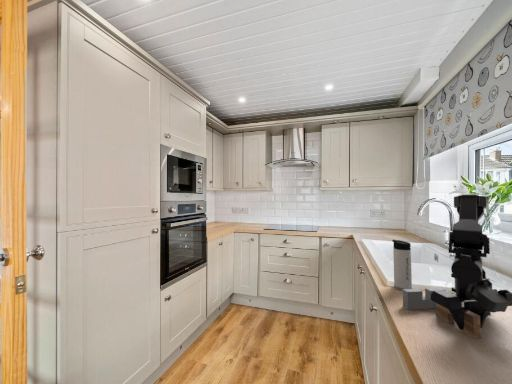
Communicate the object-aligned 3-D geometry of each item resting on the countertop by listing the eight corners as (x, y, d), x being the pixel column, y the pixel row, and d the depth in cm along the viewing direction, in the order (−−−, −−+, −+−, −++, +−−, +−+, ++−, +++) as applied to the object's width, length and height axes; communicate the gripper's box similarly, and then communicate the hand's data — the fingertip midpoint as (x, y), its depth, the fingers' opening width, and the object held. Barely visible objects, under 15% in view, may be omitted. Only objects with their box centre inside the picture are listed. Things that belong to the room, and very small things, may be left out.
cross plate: (441, 315, 75) (441, 297, 75) (480, 338, 63) (480, 316, 63) (436, 315, 75) (435, 297, 75) (474, 338, 63) (473, 316, 63)
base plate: (439, 304, 83) (439, 287, 83) (445, 307, 80) (445, 290, 80) (402, 306, 82) (402, 289, 82) (407, 309, 79) (407, 292, 79)
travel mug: (394, 284, 102) (393, 238, 102) (412, 287, 98) (410, 240, 98) (392, 288, 97) (391, 241, 97) (411, 292, 93) (410, 242, 93)
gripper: (465, 285, 57) (467, 349, 56) (534, 282, 58) (536, 344, 58) (428, 270, 68) (429, 324, 67) (486, 268, 69) (488, 320, 69)
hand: (469, 328), depth 65 cm, fingers open, 5 cm apart
